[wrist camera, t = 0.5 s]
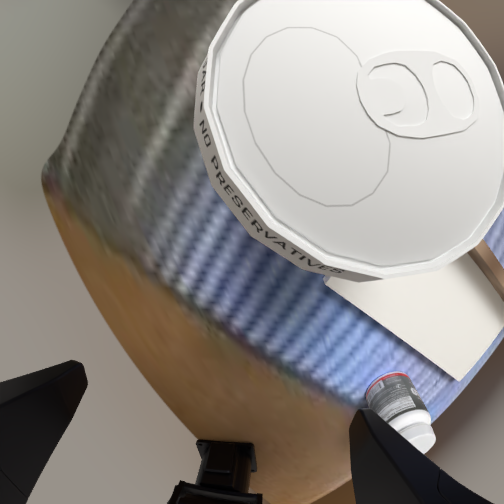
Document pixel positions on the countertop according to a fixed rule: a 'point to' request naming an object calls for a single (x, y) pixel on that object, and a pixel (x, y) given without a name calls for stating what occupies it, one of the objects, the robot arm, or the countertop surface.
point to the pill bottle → (402, 408)
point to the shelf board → (438, 308)
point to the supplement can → (354, 133)
